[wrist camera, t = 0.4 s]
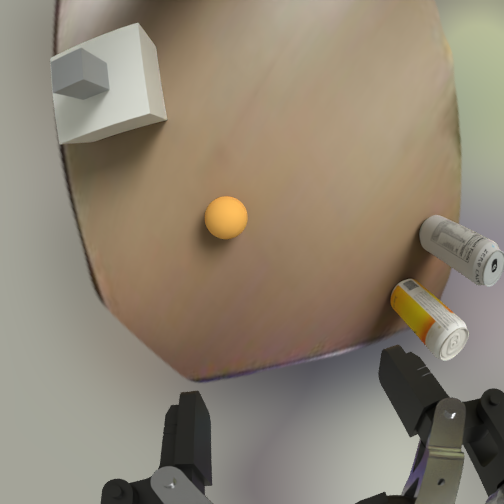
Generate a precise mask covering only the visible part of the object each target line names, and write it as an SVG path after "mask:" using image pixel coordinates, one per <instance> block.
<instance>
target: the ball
mask: <svg viewBox="0 0 504 504" xmlns="http://www.w3.org/2000/svg"><path fill="white" fill-rule="evenodd" d="M205 224H206V227H207V228H208V230H209V231H210V233H211V234H213V235H214V236H216V237H218V238H221V239H231V238H234V237H236V236H238V235H239V234H240V233H242V231H243V230H244V228H245V226H246V224H247V211H246V209H245V207H244V205H243V204H242V203H241V202H240V201H239V200H237V199H235V198H233V197H228V196H224V197H219V198H217V199H215V200H214V201H212V202H211V203H210V204H209V206H208V207H207V209H206V212H205Z"/></svg>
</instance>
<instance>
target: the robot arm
mask: <svg viewBox="0 0 504 504" xmlns="http://www.w3.org/2000/svg"><path fill="white" fill-rule="evenodd" d="M379 380H380V383H381V385H382V387H383V389H384V391H385V392H386V394H387V396H388V398H389V400H390V401H391V403H392V405H393V407H394V409H395V410H396V412H397V414H398V416H399V417H400V419H401V421H402V423H403V425H404V427H405V429H406V431H407V432H408V434H409V436H410V437H412V436H414V435H417V434H418V435H419V437H420V441H419V444H418V448H417V452H416V455H415V459H414V463H413V466H412V470H411V472H410V476H409V478H408V480H407V482H406V484H405V486H404V489H403V491H402V494H401V495H390V496H386V493H385V492H383V493H380V494H378V495H375V496H372V497H370V498H367V499H364V500H361V501H359V502H357V503H355V504H455V500H456V496H457V493H458V488H459V484H460V479H461V475H462V470H463V464H464V453H463V452H461V448H462V444H463V445H464V447H465V449H466V451H467V453H468V455H469V457H470V459H471V461H472V463H473V465H474V467H475V469H476V471H477V473H478V475H479V477H480V479H481V481H482V484H483V486H484V488H485V490H486V492H487V495H488V499H487V501H486V503H485V504H504V393H503V392H502V391H501V390H498V389H489V390H487V391H485V392H484V393H483V395H482V397H481V398H480V399H476V400H472V401H467V402H461V401H460V400H459V399H457V398H453V397H449V396H448V395H447V394H446V392H445V391H444V389H443V388H442V387H441V386H440V384H439V382H438V381H437V380H436V378H435V377H434V376H433V374H432V373H431V372H430V370H429V369H428V368H427V367H426V365H425V364H424V362H423V361H422V360H421V358H420V357H418V356H417V355H415V354H413V353H412V352H409V353H405V352H404V350H403V349H402V347H401V346H399V345H396V346H393V347H390V348H387V349H384V350H383V351H382V353H381V361H380V367H379ZM163 433H164V436H163V441H162V451H161V461H160V466H159V469H158V470H156V471H155V472H154V474H153V475H152V476H151V477H149V478H147V479H144V480H140V481H136V482H132V483H128V482H127V481H125V480H122V479H113V480H110V481H108V482H107V483H106V484H105V485H104V487H103V489H102V497H101V504H213V503H212V502H211V501H210V500H209V499H208V498H207V497H206V496H205V486H211V485H212V466H211V421H210V415H209V412H208V410H207V408H206V405H205V403H204V401H203V399H202V397H201V395H200V393H199V391H191V392H182V393H181V394H180V399H179V405H171V407H170V409H169V410H168V412H167V414H166V416H165V427H164V432H163Z"/></svg>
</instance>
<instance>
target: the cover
mask: <svg viewBox="0 0 504 504" xmlns="http://www.w3.org/2000/svg"><path fill="white" fill-rule="evenodd" d="M50 61H51V79H52V92H53V102H54V111H55V118H56V126H57V132H58V139H59V144H71V143H87V142H95V141H98V140H101V139H104V138H107V137H110V136H113V135H116V134H119V133H122V132H126V131H129V130H132V129H136V128H139V127H143V126H146V125H150V124H154V123H158V122H162V121H166V120H167V115H166V109H165V103H164V97H163V91H162V85H161V78H160V71H159V65H158V57H157V50H156V46H155V45H154V43H153V42H152V41H151V39H150V38H149V36H148V35H147V34H146V32H145V31H144V30H143V28H142V27H141V26H140V24H139V23H135V24H131V25H128V26H125V27H122V28H119V29H117V30H114V31H111V32H108V33H106V34H103V35H100V36H98V37H95V38H93V39H90V40H88V41H86V42H83V43H81V44H79V45H77V46H74V47H72V48H70V49H68V50H66V51H64V52H62V53H60V54H58V55H56V56H54V57H52V58H51V59H50Z"/></svg>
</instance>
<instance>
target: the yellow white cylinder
mask: <svg viewBox="0 0 504 504" xmlns="http://www.w3.org/2000/svg"><path fill="white" fill-rule="evenodd" d="M391 306H392V308H393V309H394V310H395V311H396V312H397V313H398V315H399V316H400V317H401V318H402V319H403V320H404V321H405V322H406V324H407V325H408V326H409V327H410V328H411V329H412V330H413V331H414V333H415V334H416V335H417V336H418V337H419V338H420V340H421V341H422V342H423V343H424V344H425V345H426V347H427V348H428V349H429V350H430V351H431V352H432V354H433V355H434V356H435V357H436V358H440V359H441V360H444V361H446V360H450V359H452V358H453V357H455V356H456V355H457V354H458V353H459V352H460V351H461V350H462V349H463V347H464V346H465V344H466V342H467V339H468V336H469V332H468V330H467V327H466V325H465V323H464V322H463V321H462V320H461V319H460V318H459V317H458V316H457V315H456V314H454V313H453V312H452V311H451V310H450V309H449V308H448V307H446V306H445V305H444V304H443V303H442V302H441V301H440V300H439V299H437V298H436V297H435V296H434V295H433V294H432V293H431V292H429V291H428V290H427V289H426V288H425V287H423V286H422V285H421V284H420V283H419V282H418V281H416V280H415V279H407V280H403V281H401V282H399V283H398V284H397V285H396V286H395V288H394V289H393V291H392V294H391Z"/></svg>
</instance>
